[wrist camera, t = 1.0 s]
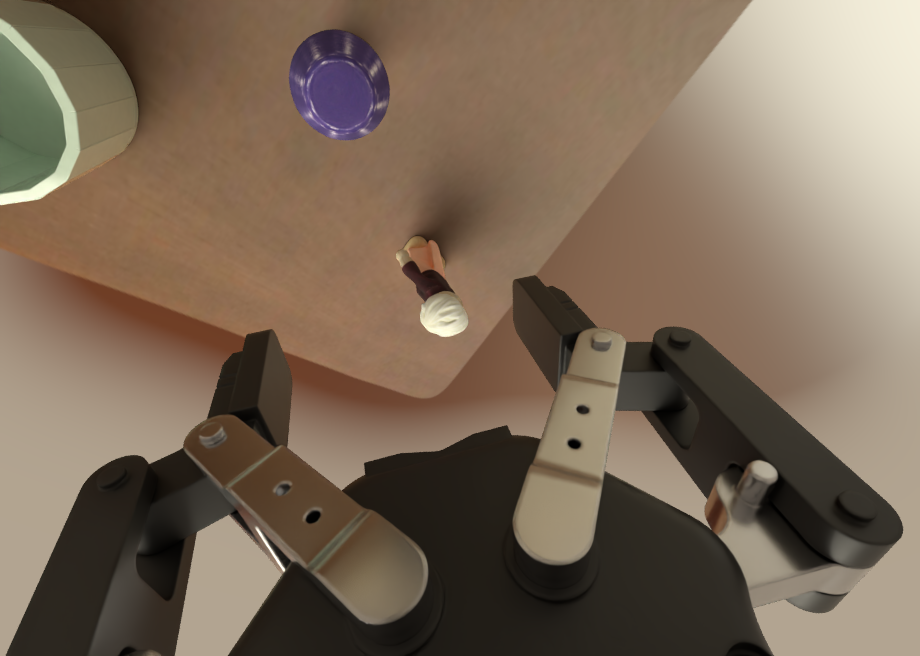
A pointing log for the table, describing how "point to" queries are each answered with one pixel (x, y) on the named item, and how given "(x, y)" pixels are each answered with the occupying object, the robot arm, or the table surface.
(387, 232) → the table surface
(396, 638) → the robot arm
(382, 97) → the toy lamp
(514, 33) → the table surface
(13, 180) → the glazed cup
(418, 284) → the grandmother figurine
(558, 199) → the table surface
